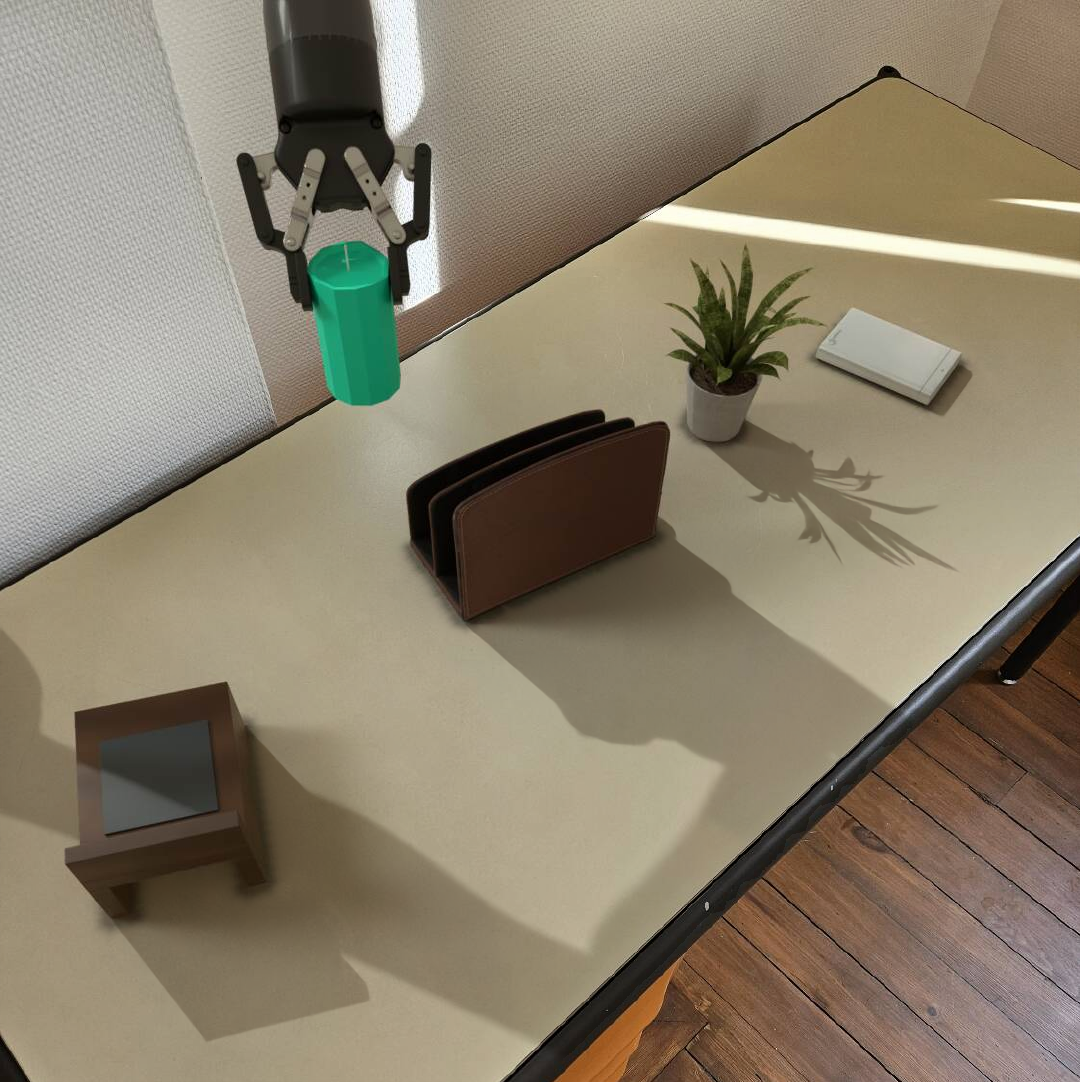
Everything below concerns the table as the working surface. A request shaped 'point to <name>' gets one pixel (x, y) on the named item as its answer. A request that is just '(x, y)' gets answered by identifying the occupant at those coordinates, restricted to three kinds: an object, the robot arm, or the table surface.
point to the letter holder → (537, 506)
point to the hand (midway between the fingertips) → (353, 305)
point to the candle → (355, 322)
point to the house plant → (731, 351)
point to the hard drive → (889, 355)
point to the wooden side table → (162, 792)
